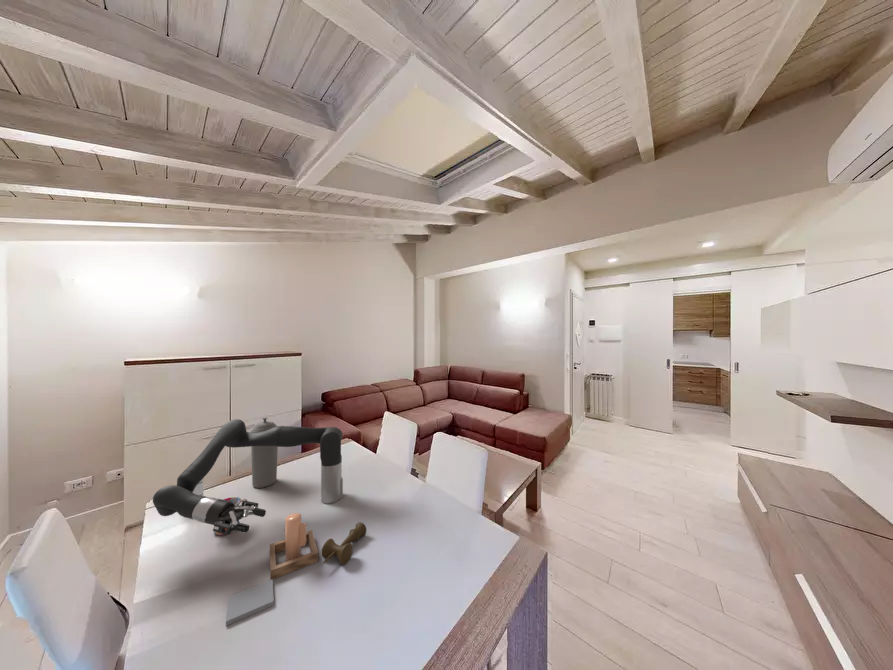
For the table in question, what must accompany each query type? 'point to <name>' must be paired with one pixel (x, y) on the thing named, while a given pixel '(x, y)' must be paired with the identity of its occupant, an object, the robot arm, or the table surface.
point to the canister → (264, 459)
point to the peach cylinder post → (294, 536)
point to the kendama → (343, 545)
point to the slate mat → (250, 601)
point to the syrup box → (199, 489)
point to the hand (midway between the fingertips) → (257, 521)
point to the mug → (236, 502)
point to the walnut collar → (294, 563)
